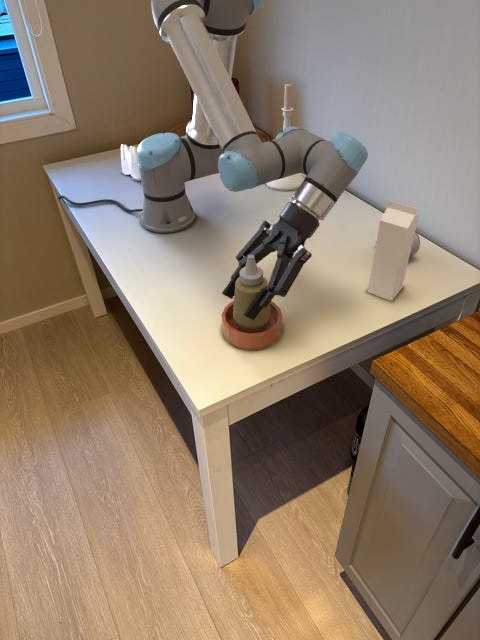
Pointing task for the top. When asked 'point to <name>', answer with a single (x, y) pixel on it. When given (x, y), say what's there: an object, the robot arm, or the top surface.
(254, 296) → the squeeze bottle
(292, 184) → the candlestick
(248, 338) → the holder
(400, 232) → the milk
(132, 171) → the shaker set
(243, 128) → the robot arm
